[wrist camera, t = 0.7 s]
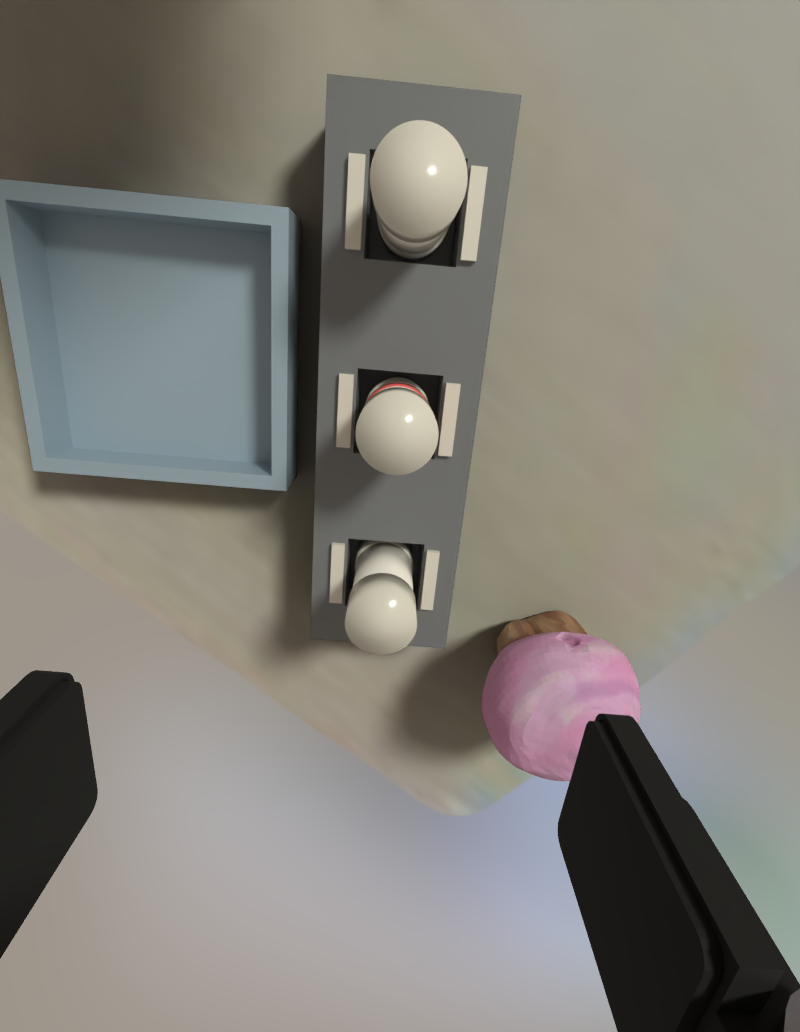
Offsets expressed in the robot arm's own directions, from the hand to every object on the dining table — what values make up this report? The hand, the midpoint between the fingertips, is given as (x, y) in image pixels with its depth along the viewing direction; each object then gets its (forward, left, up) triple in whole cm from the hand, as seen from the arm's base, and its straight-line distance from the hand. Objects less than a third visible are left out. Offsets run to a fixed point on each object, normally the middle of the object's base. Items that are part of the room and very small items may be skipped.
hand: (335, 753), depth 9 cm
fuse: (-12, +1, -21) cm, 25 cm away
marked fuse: (-3, +1, -21) cm, 22 cm away
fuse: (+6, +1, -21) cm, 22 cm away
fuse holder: (-3, +1, -22) cm, 23 cm away
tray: (-5, -12, -22) cm, 26 cm away
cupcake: (+12, +11, -23) cm, 28 cm away
